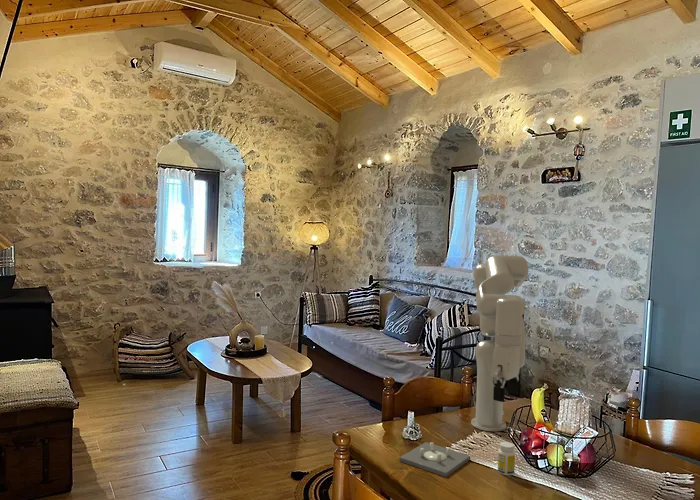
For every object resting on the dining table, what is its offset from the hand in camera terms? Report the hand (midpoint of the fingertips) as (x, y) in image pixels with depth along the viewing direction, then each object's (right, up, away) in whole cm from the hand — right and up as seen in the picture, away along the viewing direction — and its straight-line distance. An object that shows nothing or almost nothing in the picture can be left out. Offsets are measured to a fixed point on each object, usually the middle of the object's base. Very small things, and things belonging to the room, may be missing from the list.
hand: (505, 397), depth 158 cm
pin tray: (-20, -22, +8) cm, 30 cm away
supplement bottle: (0, -23, +1) cm, 23 cm away
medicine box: (+18, -23, +4) cm, 29 cm away
